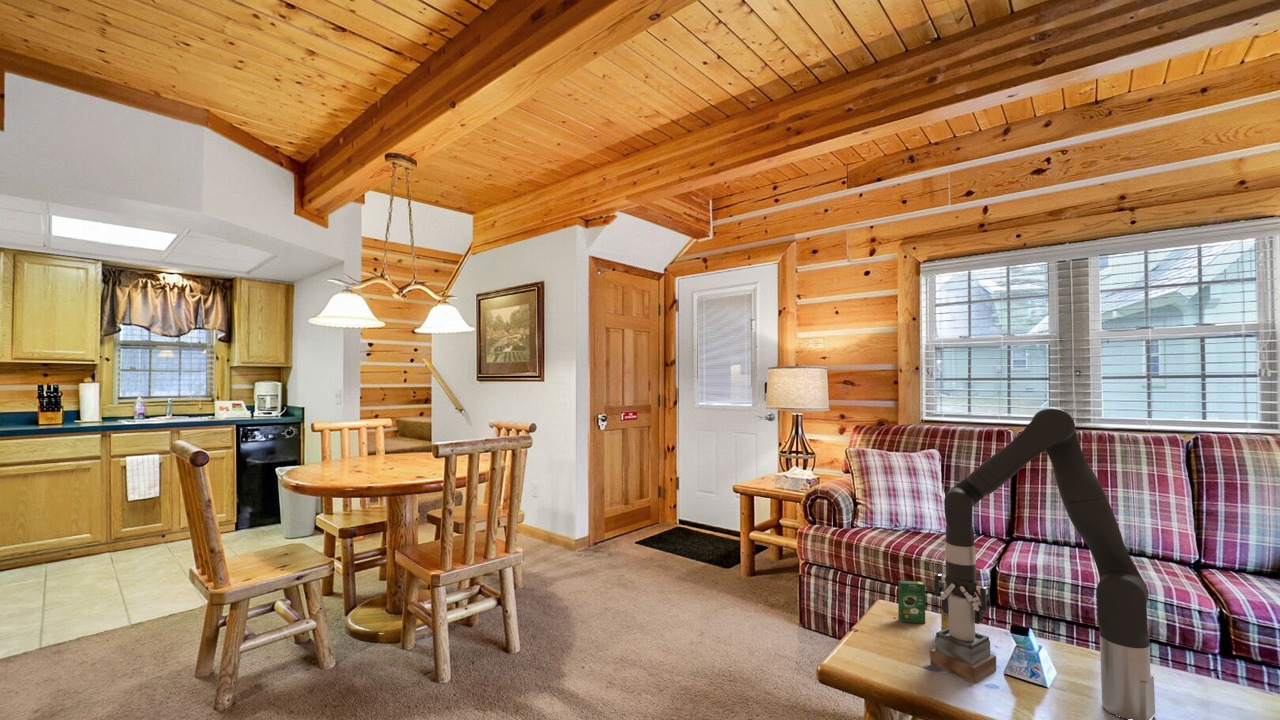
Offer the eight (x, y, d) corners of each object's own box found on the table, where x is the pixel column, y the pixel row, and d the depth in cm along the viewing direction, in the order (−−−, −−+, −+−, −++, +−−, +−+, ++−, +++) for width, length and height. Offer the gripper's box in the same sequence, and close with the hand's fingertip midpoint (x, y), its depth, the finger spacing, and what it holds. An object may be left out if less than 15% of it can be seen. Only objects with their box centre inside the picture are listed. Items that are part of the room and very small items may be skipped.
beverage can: (979, 644, 154) (977, 600, 155) (953, 642, 156) (952, 598, 156) (970, 634, 161) (969, 591, 161) (945, 632, 162) (944, 590, 162)
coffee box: (922, 620, 189) (922, 580, 190) (926, 623, 186) (925, 583, 187) (898, 619, 190) (897, 579, 190) (901, 622, 187) (900, 583, 187)
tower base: (996, 670, 156) (995, 637, 156) (974, 683, 150) (973, 649, 150) (952, 653, 166) (951, 622, 166) (930, 664, 160) (929, 632, 160)
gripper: (994, 564, 155) (995, 623, 154) (942, 551, 167) (943, 606, 166) (980, 569, 151) (982, 630, 150) (928, 555, 163) (929, 612, 162)
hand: (961, 617), depth 158 cm, fingers open, 8 cm apart
